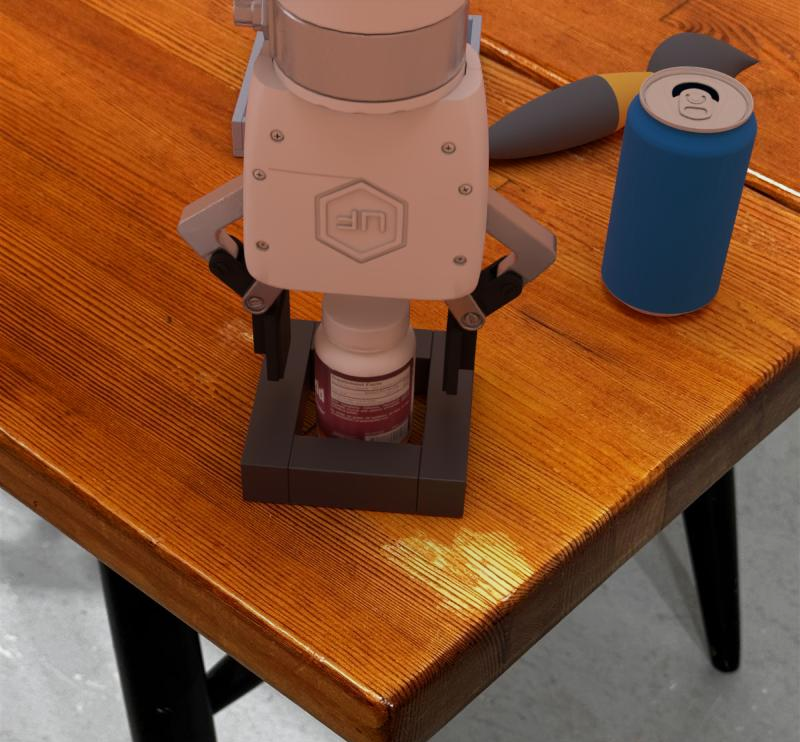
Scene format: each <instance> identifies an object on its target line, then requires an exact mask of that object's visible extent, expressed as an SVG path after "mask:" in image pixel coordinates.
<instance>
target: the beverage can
mask: <svg viewBox="0 0 800 742" xmlns="http://www.w3.org/2000/svg"><path fill="white" fill-rule="evenodd" d="M754 106H755V102H754V97H753V96H752V93H751V92H750V90H749V89H748V88H747V87H746V86H745V85H744V84H743V83H742V82H740V81H739V80H738V79H736V78H732V77H731V76H728V75H726V74H724V73H721V72H718V71H715V70H711V69H706V68H700V67H673V68H668V69H664V70H661V71H658V72H656V73H654V74H652V75H650V76H649V77H648V78H647V79H645V80H644V82H643V83H642V85H641V87H640V91H639V93H638V94H637V95H636V96H635V97H634V99H633V100H632V101H631V103H630V105H629V107H628V110H627V116H626V122H625V126H624V127H623V128H624V129H623V135H622V141H621V146H620V153H619V159H618V165H617V171H616V176H615V177H616V178H615V183H614V189H613V193H612V194H613V195H612V201H611V206H610V207H611V208H610V213H609V217H608V218H609V219H608V225H607V231H606V239H605V243H604V249H603V255H602V261H601V267H600V275H601V279H602V282H603V284H604V286H605V288H606V289H607V290H608V291H609V293H610V294H611V295H612V296H614V297H615V298H616V299H617V300H619V301H620V302H622V303H623V304H624V305H625V306H627V307H629V308H630V309H632V310H633V311H636V312H638V313H640V314H644V315H648V316H654V317H661V318H665V317H666V318H667V317H668V318H669V317H677V316H681V315H684V314H689V313H692V312H695V311H698V310H701V309H703V308H704V307H706V306H708V304H710V303H712V301H713V300H714V299H715V297H717V294H718V292H719V290H720V285H721V281H722V277H723V273H724V271H725V270H724V269H725V266H726V261H727V257H728V253H729V249H730V244H731V240H732V237H733V232H734V229H735V224H736V220H737V215H738V213H739V212H738V211H739V208H740V203H741V199H742V195H743V190H744V188H745V183H746V178H747V175H748V172H749V171H748V170H749V166H750V162H751V159H752V154H753V150H754V145H755V141H756V138H757V134H758V120H757V117H756V114H755V112H754Z"/></svg>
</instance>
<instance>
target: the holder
mask: <svg viewBox="0 0 800 742" xmlns="http://www.w3.org/2000/svg"><path fill="white" fill-rule="evenodd" d="M290 321H291V343H290V348H289V353H288V358H287V363H286V368H285V373H284V378H283V379H279V382H277V381H268V380H267V365H266V354H263V359H262V363H261V368H260V373H259V377H258V382H257V386H256V391H255V394H254V400H253V404H252V409H251V413H250V417H249V422H248V427H247V432H246V435H245V439H244V445H243V450H242V453H241V454H242V455H241V458H240V463H239V466H240V467H239V468H240V479H241V480H240V481H241V492H242V500H243V501H248V502H257V503H258V502H259V503H272V504H283V505H289V504H290V505H298V506H299V505H301V506H311V507H313V506H314V507H325V508H336V509H337V508H338V509H347V510H362V511H373V512H385V513H396V514H397V513H399V514H409V515H410V514H411V515H416V514H417V515H423V516H424V515H425V516H435V517H449V518H460V519H462V518H463V517H464V512H465V504H466V503H465V501H466V490H467V478H468V465H469V451H470V435H471V422H472V421H471V420H472V407H473V396H474V395H473V394H474V393H473V392H474V382H475V381H474V379H475V369H474V370H462V369H459V375H458V387H457V395H446V392H444V391H442V384H443V369H444V354H445V339H446V330H439V329H435V330H433V329H426V328H414V327H412V328H413V330H414V333H415V337H416V360H415V378H414V394H420V395H426V399H425V407H424V408H425V409H424V419H423V428H422V429H423V430H422V431H423V432H422V439H421V444H415V443H407V444H402V443H390V442H377V441H365V440H352V439H340V438H327V437H318V436H314V435H303V430H304V426H305V425H304V424H305V420H306V413H307V408H308V403H309V397H310V392H311V391H310V390H311V386H315V356H314V338H315V334H316V331H317V329H318V326H319V325H320V323H321V320H312V319H299V318H290ZM475 365H476V364H475ZM475 365H474V368H475Z"/></svg>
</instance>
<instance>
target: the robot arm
mask: <svg viewBox="0 0 800 742" xmlns="http://www.w3.org/2000/svg"><path fill="white" fill-rule="evenodd" d="M232 5H233V6H232V7H233V8H232V10H233V11H232V17H233V24H234V26H235V27H239V28H240V27H241V28H252V30H253V31H254V32H258V31H260V32H263V35H264V40H267V41H266V42H265V43H264V45H263V46H262V48H261V50H260V53H259V55H258V56H257V58H256V60H255V63H254V66H253V71H252V75H251V81H250V87H249V94H248V102H247V110H246V121H245V140H244V157H243V167H242V168H243V171H242V173H241V174H239V175H237V176H235V177H234V178H232V179H230V180H229V181H226V182H225V183H223V184H222V185H220V186H218V187H216V188H215V189H213V190H211V191H210V192H208V193H206V194H204V195H203V196H200V197H199V198H198V199H196V200H194V201H192V202H191V203H188V204H186V205H185V206H184V207H183V208H182V210H181V213H180V217H179V220H178V223H177V227H176V232H177V234H178V236H179V237H181V239H182V240H183V241H184V242H185V243H186V244H187V245H188V246H189V247H190V248H191V249H192V250H193V251H194V252H195V254H196V255H198V257H200V259H204V261H206V262H207V264H208V265H207V266H208V270H209V272H210V273H211V274H212V275H213V276H215V277H216V279H218V280H220V281H221V282H222V283H223V284H224V285H225V286H226V287H228V288H229V289H230V290H232V291H233V292H234V293H236V295H238V296H239V297H240V298H241V299H242V301H241V305H242V308H243V309H244V310H245V312H248V313H249V314H251V327H252V342H253V353H254V354H255V355H264V354H266V365H267V380H268V381H277V382H279V379H283V378H284V373H285V368H286V363H287V358H288V353H289V348H290V343H291V321H290V319H291V298H290V297H291V295H290V294H291V293H290V291H294V292H295V291H296V292H307V293H320V294H324V293H331V294H344V295H357V296H370V297H384V298H398V299H409V300H412V301H413V300H415V301H430V302H431V301H434V302H442V301H443V302H444V303H445V305H446V307H447V317H446V327H445V331H446V339H445V354H444V369H443V384H442V391H444V392H446V395H457V387H458V375H459V369H462V370H474V371H475V367H474V365H476V353H477V341H478V331H479V330H481V329H482V328H483V327H484V326H485V324H486V318H488V317H489V316H491V315H492V314H493V313H495V312H497V311H498V310H500V309H501V308H503V307H504V306H506V305H508V304H509V303H511V302H513V300H515V299H517V298H519V296H520V295H521V294H522V293H523V288H524V287H526V285H528V284H530V283H533V281H535V280H536V279H537V278H538V277H540V276H541V274H543V273H544V272H545V271H547V269H548V268H550V267H551V266H553V264H554V263H555V262H556V260H557V255H558V253H557V245H558V238H557V236H556V234H555V233H554V232H552V231H551V230H549V229H548V228H547V227H546V226H544V225H543V224H541V223H540V222H539V221H538V220H536V219H534V218H533V217H532V216H530V215H529V214H528V213H526V212H525V211H524V210H522V209H521V208H520V207H518V206H517V205H515V204H514V203H513V202H512V201H510V200H509V199H507V198H506V197H505V196H503V195H502V194H501V193H499V192H497V190H495V189H493V187H491V186H489V174H490V173H489V169H490V168H489V167H490V166H489V164H490V163H489V161H490V158H489V136H488V128H489V119H488V118H489V117H488V108H487V96H486V88H485V81H484V76H483V70H482V63H481V59H480V55H479V56H478V54H477V52H476V51H475V50H474V48H473V47H472V46H471V45H470V44H468V43H467V30H468V15H470V14H469V13H470V0H233V4H232ZM241 219H242V220H243V221H242V222H243V225H242V227H243V228H242V229H243V231H242V232H243V242H242V241H241V239H238V238H237V237H236V236H235V235H232V234H229V233H227V229H226V227H228V226H229V225H231V224H234V223H235V222H237V221H239V220H241ZM486 234H487V235H489V236H490V237H492V239H495V240H496V241H497V242H499V243H500V244H502V246H504V247H506V248H507V249H508V250H510V253H509V254H506V255H503V256H501V257H499V258H498V259H496V260H495V261H493V262H492V263H491V264H489V265H488V266H486V267H485V268H483V269H482V266H483V261H484V253H485V247H486V245H485V244H486V236H487V235H486Z"/></svg>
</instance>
